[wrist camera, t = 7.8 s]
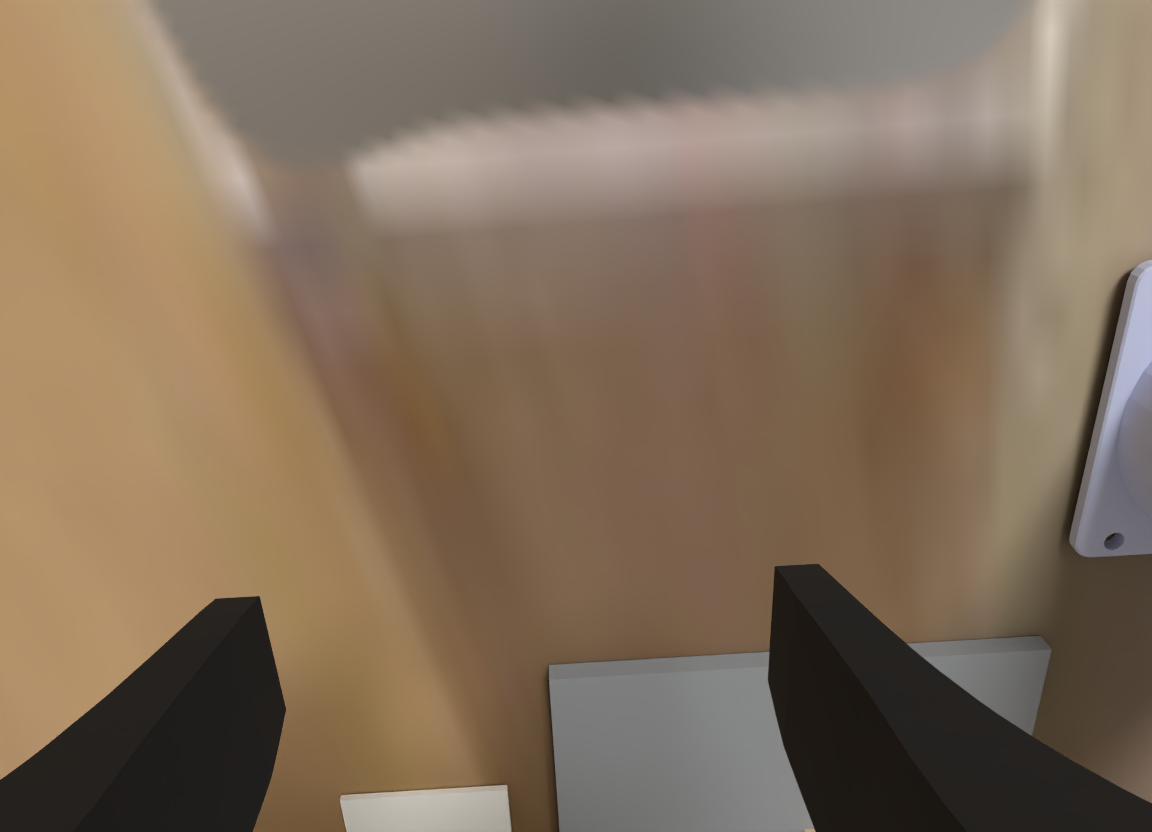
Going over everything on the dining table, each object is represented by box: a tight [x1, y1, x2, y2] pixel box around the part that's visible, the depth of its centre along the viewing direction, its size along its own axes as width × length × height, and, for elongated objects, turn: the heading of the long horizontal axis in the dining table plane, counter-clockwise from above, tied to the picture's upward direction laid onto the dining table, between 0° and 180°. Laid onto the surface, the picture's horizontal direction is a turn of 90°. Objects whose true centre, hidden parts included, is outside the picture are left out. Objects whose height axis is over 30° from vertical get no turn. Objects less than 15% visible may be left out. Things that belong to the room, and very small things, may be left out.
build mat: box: [549, 636, 1052, 832], centre depth 28 cm, size 14×12×1 cm
